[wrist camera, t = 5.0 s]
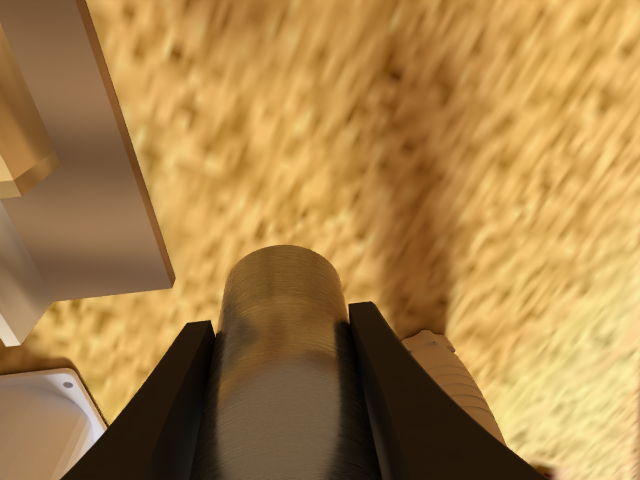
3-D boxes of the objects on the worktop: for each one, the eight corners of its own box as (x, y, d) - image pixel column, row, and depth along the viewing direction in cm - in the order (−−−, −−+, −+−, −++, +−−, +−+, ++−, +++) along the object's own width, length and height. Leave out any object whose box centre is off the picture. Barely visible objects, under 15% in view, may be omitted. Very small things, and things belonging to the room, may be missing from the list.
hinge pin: (344, 330, 14) (394, 591, 8) (236, 343, 14) (203, 617, 8) (338, 238, 12) (398, 487, 6) (213, 252, 12) (144, 520, 6)
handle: (361, 371, 26) (441, 750, 13) (418, 295, 23) (593, 682, 10) (424, 389, 27) (553, 747, 14) (485, 321, 24) (713, 688, 12)
